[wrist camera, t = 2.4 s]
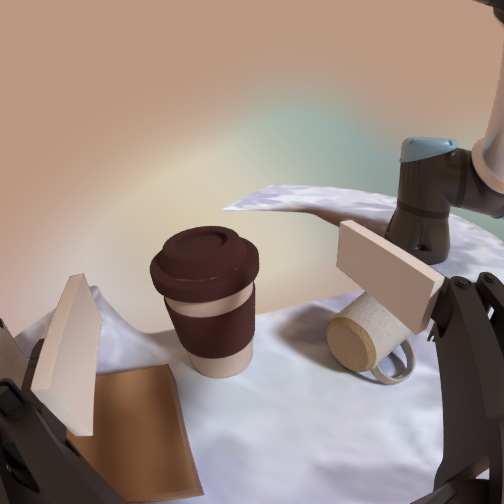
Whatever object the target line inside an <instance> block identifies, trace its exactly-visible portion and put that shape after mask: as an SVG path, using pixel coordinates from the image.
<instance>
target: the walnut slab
mask: <svg viewBox="0 0 504 504" xmlns="http://www.w3.org/2000/svg"><path fill="white" fill-rule="evenodd" d="M66 437H67V438H68V439H69V440H70V441H71V442H72V443H73V445H74V446H75V447H76V448H77V450H78V451H79V452H80V453H81V454H82V456H83V457H84V458H85V459H86V460H87V461H88V463H89V464H90V465H91V466H92V467H93V468H94V469H95V470H96V472H97V473H98V474H99V475H100V476H101V477H102V478H103V479H104V480H105V481H106V482H107V483H108V484H109V485H110V486H111V487H112V488H113V489H114V490H115V491H116V492H117V493H118V494H119V495H120V496H121V497H123V498H124V499H125V500H126V501H127V502H128V503H136V502H154V501H165V500H174V499H182V498H189V497H195V496H201V495H204V492H203V489H202V486H201V483H200V480H199V477H198V473H197V470H196V466H195V463H194V459H193V456H192V452H191V448H190V445H189V441H188V437H187V433H186V429H185V424H184V420H183V416H182V411H181V406H180V402H179V397H178V392H177V387H176V382H175V379H174V377H173V374H172V372H171V370H170V367H169V365H168V364H166V365H161V366H156V367H150V368H145V369H139V370H134V371H128V372H122V373H115V374H109V375H102V376H95V389H94V406H93V436H75V435H74V434H72V433H71V432H70V431H69V430H68V429H67V432H66Z"/></svg>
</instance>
